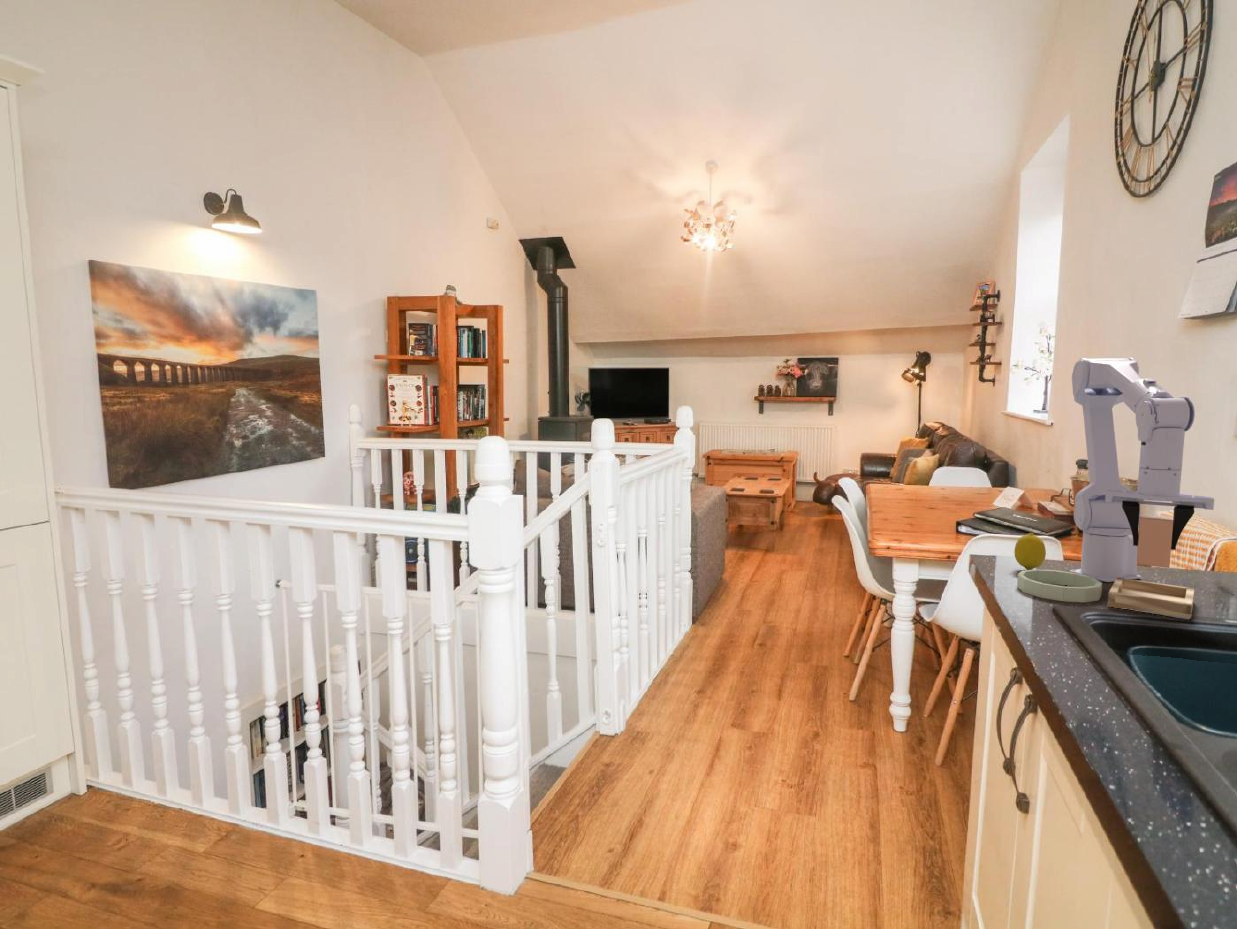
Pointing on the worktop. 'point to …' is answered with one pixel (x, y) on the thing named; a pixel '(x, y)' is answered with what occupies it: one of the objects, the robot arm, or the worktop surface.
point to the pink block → (1154, 541)
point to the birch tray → (1151, 597)
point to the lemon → (1030, 551)
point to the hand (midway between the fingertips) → (1153, 546)
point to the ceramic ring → (1079, 592)
